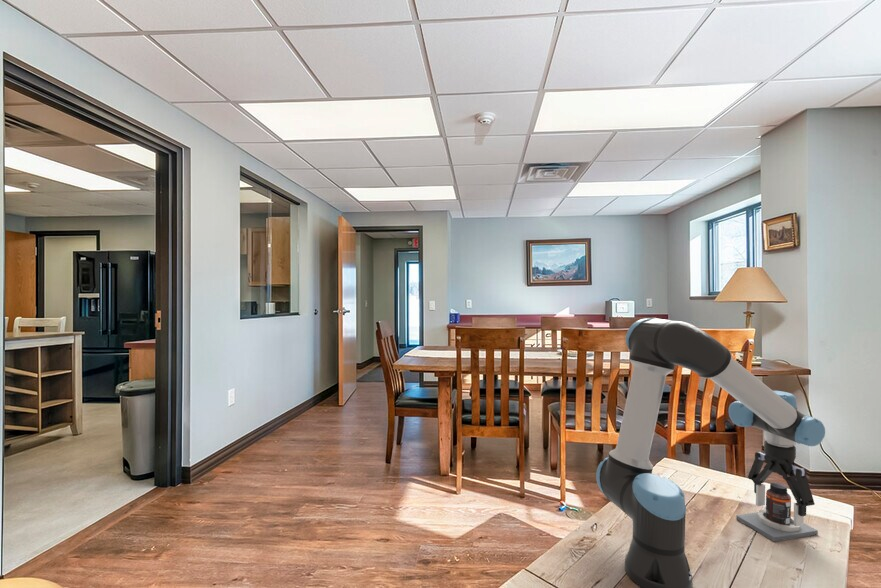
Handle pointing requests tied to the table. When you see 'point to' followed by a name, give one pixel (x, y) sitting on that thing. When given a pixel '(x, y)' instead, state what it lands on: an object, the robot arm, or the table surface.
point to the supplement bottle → (778, 504)
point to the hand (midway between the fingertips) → (778, 514)
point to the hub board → (775, 527)
